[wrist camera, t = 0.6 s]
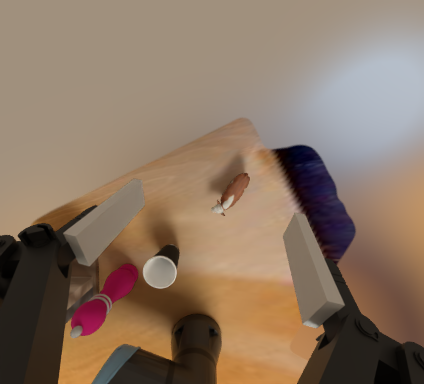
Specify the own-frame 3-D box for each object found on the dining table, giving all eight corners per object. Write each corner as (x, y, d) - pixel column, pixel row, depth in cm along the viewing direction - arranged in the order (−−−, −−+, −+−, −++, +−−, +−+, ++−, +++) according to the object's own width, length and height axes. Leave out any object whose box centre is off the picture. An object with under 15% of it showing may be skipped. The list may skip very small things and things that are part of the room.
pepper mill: (143, 267, 50) (98, 326, 30) (134, 288, 50) (84, 360, 30) (121, 258, 50) (61, 311, 30) (112, 279, 50) (47, 345, 30)
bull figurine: (208, 205, 48) (208, 210, 40) (239, 170, 48) (244, 168, 40) (220, 215, 49) (221, 222, 41) (250, 180, 48) (258, 180, 40)
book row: (99, 293, 51) (57, 335, 37) (53, 292, 51) (-6, 334, 37) (97, 232, 49) (52, 253, 35) (50, 231, 49) (-13, 252, 35)
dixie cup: (159, 237, 49) (143, 254, 38) (185, 240, 49) (178, 257, 38) (157, 263, 50) (141, 287, 39) (183, 266, 50) (175, 290, 39)
